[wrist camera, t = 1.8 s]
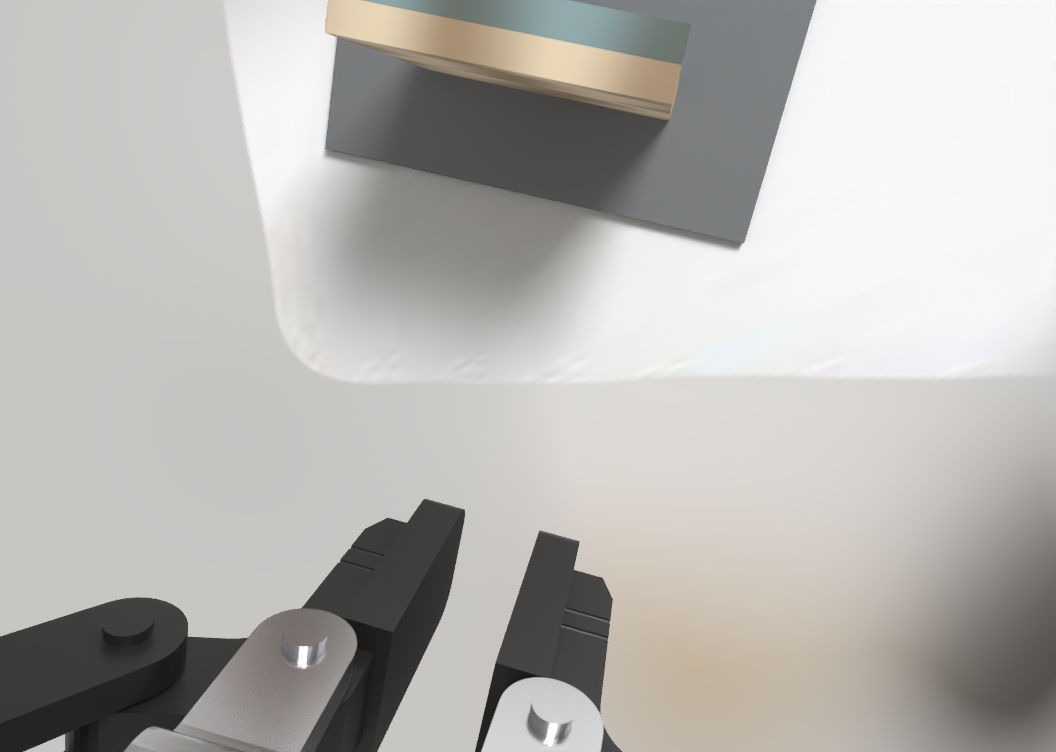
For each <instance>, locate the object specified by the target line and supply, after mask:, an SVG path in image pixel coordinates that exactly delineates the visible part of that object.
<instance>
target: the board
mask: <svg viewBox="0 0 1056 752" xmlns="http://www.w3.org/2000/svg"><path fill="white" fill-rule="evenodd" d="M691 26H692V24H687V23H682V22H677V21H672V20H667V19H662V18H657V17H652V16H647V15H641V14H636V13H631V12H626V11H621V10H616V9H611V8H606V7H601V6H595V5H590V4H585V3H580V2H575V1H570V0H328V5H327V15H326V25H325V33H328V34H331V35H333V36H336V37H339V38H342V39H345V40H347V41H350V42H353V43H356V44H358V45H361V46H364V47H367V48H370V49H372V50H375V51H378V52H381V53H383V54H386V55H389V56H392V57H395V58H397V59H400V60H403V61H406V62H408V63H411V64H414V65H417V66H420V67H422V68H425V69H428V70H431V71H435V72H440V73H445V74H450V75H454V76H459V77H464V78H469V79H473V80H478V81H483V82H488V83H492V84H497V85H502V86H507V87H511V88H516V89H521V90H526V91H530V92H535V93H540V94H545V95H549V96H554V97H559V98H564V99H568V100H573V101H578V102H583V103H587V104H592V105H597V106H602V107H606V108H611V109H616V110H621V111H625V112H630V113H635V114H640V115H644V116H649V117H654V118H659V119H663V120H668V121H669V120H670V116H671V112H672V108H673V104H674V100H675V96H676V92H677V88H678V84H679V80H680V76H681V72H682V68H683V64H684V59H685V54H686V50H687V45H688V40H689V36H690V31H691Z"/></svg>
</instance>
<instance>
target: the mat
mask: <svg viewBox="0 0 1056 752" xmlns="http://www.w3.org/2000/svg"><path fill="white" fill-rule="evenodd" d="M570 1H575V2H580V3H585V4H590V5H595V6H601V7H606V8H611V9H616V10H621V11H626V12H631V13H636V14H641V15H647V16H652V17H657V18H662V19H667V20H672V21H677V22H682V23H687V24H692V26H691V31H690V36H689V40H688V45H687V50H686V54H685V59H684V64H683V68H682V72H681V76H680V80H679V84H678V88H677V92H676V96H675V100H674V104H673V108H672V112H671V116H670V120H669V121H668V120H663V119H659V118H654V117H649V116H644V115H640V114H635V113H630V112H625V111H621V110H616V109H611V108H606V107H602V106H597V105H592V104H587V103H583V102H578V101H573V100H568V99H564V98H559V97H554V96H549V95H545V94H540V93H535V92H530V91H526V90H521V89H516V88H511V87H507V86H502V85H497V84H492V83H488V82H483V81H478V80H473V79H469V78H464V77H459V76H454V75H450V74H445V73H440V72H435V71H431V70H428V69H425V68H422V67H420V66H417V65H414V64H411V63H408V62H406V61H403V60H400V59H397V58H395V57H392V56H389V55H386V54H383V53H381V52H378V51H375V50H372V49H370V48H367V47H364V46H361V45H358V44H356V43H353V42H350V41H347V40H345V39H342V38H339V37H338V38H337V47H336V57H335V66H334V75H333V84H332V93H331V102H330V112H329V121H328V130H327V139H326V148H325V149H329V150H334V151H338V152H343V153H347V154H351V155H356V156H360V157H365V158H369V159H374V160H378V161H382V162H387V163H391V164H396V165H400V166H404V167H409V168H413V169H418V170H422V171H427V172H431V173H435V174H440V175H444V176H449V177H453V178H458V179H462V180H466V181H471V182H475V183H480V184H484V185H489V186H493V187H497V188H502V189H506V190H511V191H515V192H520V193H524V194H528V195H533V196H537V197H542V198H546V199H551V200H555V201H559V202H564V203H568V204H573V205H577V206H582V207H586V208H590V209H595V210H599V211H604V212H608V213H612V214H617V215H621V216H626V217H630V218H635V219H639V220H643V221H648V222H652V223H657V224H661V225H666V226H670V227H674V228H679V229H683V230H688V231H692V232H697V233H701V234H705V235H710V236H714V237H719V238H723V239H728V240H732V241H736V242H741V243H744V241H745V238H746V235H747V231H748V228H749V225H750V221H751V218H752V215H753V211H754V208H755V204H756V201H757V198H758V194H759V191H760V188H761V184H762V181H763V178H764V174H765V171H766V168H767V164H768V161H769V158H770V154H771V151H772V147H773V144H774V141H775V137H776V134H777V131H778V127H779V124H780V121H781V117H782V114H783V111H784V107H785V104H786V101H787V97H788V94H789V90H790V87H791V84H792V80H793V77H794V74H795V70H796V67H797V64H798V60H799V57H800V54H801V50H802V47H803V44H804V40H805V37H806V33H807V30H808V27H809V23H810V20H811V17H812V13H813V10H814V7H815V3H816V0H570Z"/></svg>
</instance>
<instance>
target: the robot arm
mask: <svg viewBox="0 0 1056 752" xmlns="http://www.w3.org/2000/svg"><path fill="white" fill-rule="evenodd" d="M464 517H465V510H464V509H460V508H456V507H453V506H450V505H446V504H442V503H438V502H435V501H431V500H428V499H424V500H423V501H422V502H421V504H420V505H419V507H418V508H417V510H416V511H415V512H414V514H413V515H412V517H411V518H410V520H409V521H408V522H407V523H405V522H401V521H398V520H394V519H390V518H386V519H384V520H382V521H380V522H378V523H376V524H374V525H372V526H370V527H368V528H366V529H365V530H364V531H363V532H362V533H361V535H360V536H359V537H358V538H357V540H356V541H355V542H354V543H353V545H352V547H351V549H349V550H348V551H347V552H346V553H345V555H344V556H343V557H342V558H341V561H340V563H338V564H337V565H336V566H335V567H334V569H333V570H332V571H331V572H330V574H329V575H328V576H327V577H326V578H325V580H324V581H323V582H322V583H321V585H320V586H319V587H318V589H317V590H316V591H315V592H314V594H313V595H312V596H311V597H310V598H309V600H308V601H307V602H306V604H305V605H304V606H303V607H302V608H301V609H293V610H288V611H284V612H280V613H278V614H275V615H273V616H271V617H269V618H267V619H266V620H264V621H263V622H262V623H261V624H259V626H258V627H257V628H256V629H255V630H254V631H253V632H252V634H251V635H250V636H249V637H248V638H241V639H222V638H202V637H187V636H188V622H187V619H186V617H185V615H184V613H183V612H182V611H181V610H180V609H179V608H177V607H175V606H174V605H172V604H170V603H168V602H165V601H162V600H158V599H152V598H126V599H120V600H116V601H111V602H108V603H104V604H101V605H98V606H95V607H92V608H89V609H86V610H82V611H79V612H76V613H73V614H70V615H67V616H64V617H60V618H57V619H54V620H51V621H48V622H45V623H42V624H38V625H35V626H32V627H29V628H26V629H23V630H20V631H16V632H13V633H10V634H7V635H4V636H1V637H0V752H23V751H26V750H28V749H30V748H33V747H35V746H38V745H40V744H42V743H45V742H47V741H49V740H52V739H54V738H56V737H59V736H61V735H63V734H65V751H64V752H377V751H378V749H379V747H380V744H381V742H382V740H383V738H384V736H385V734H386V732H387V730H388V728H389V725H390V723H391V721H392V719H393V717H394V715H395V713H396V711H397V709H398V707H399V705H400V703H401V701H402V699H403V697H404V695H405V692H406V690H407V688H408V686H409V684H410V682H411V680H412V678H413V676H414V674H415V672H416V670H417V668H418V665H419V663H420V661H421V659H422V657H423V655H424V653H425V651H426V649H427V647H428V645H429V643H430V640H431V638H432V636H433V634H434V632H435V630H436V628H437V626H438V624H439V622H440V620H441V617H442V615H443V612H444V609H445V606H446V603H447V600H448V596H449V593H450V588H451V584H452V579H453V574H454V569H455V564H456V559H457V554H458V549H459V544H460V539H461V534H462V529H463V524H464ZM578 547H579V541H576V540H572V539H569V538H565V537H561V536H558V535H555V534H551V533H547V532H543V531H539V534H538V537H537V540H536V543H535V546H534V549H533V552H532V555H531V558H530V561H529V564H528V567H527V570H526V573H525V576H524V579H523V582H522V585H521V588H520V591H519V594H518V597H517V600H516V603H515V606H514V609H513V612H512V615H511V618H510V621H509V624H508V627H507V631H506V633H505V636H504V639H503V642H502V645H501V648H500V651H499V654H498V657H497V661H496V664H495V668H494V672H493V677H492V681H491V685H490V689H489V694H488V698H487V702H486V707H485V711H484V715H483V720H482V724H481V729H480V733H479V737H478V741H477V746H476V750H475V752H622V751H621V750H620V749H619V748H618V747H617V746H616V745H615V744H614V742H613V741H612V740H611V738H610V737H609V735H608V734H607V732H606V730H605V728H604V725H603V721H602V718H601V714H600V704H601V695H602V686H603V678H604V669H605V661H606V651H607V643H608V641H607V640H608V635H609V626H610V624H609V622H610V617H611V608H612V600H613V599H612V597H611V595H610V593H609V590H608V588H607V586H606V584H605V582H604V580H603V578H601V577H597V576H594V575H590V574H586V573H583V572H579V571H575V570H574V565H575V560H576V556H577V551H578Z"/></svg>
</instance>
